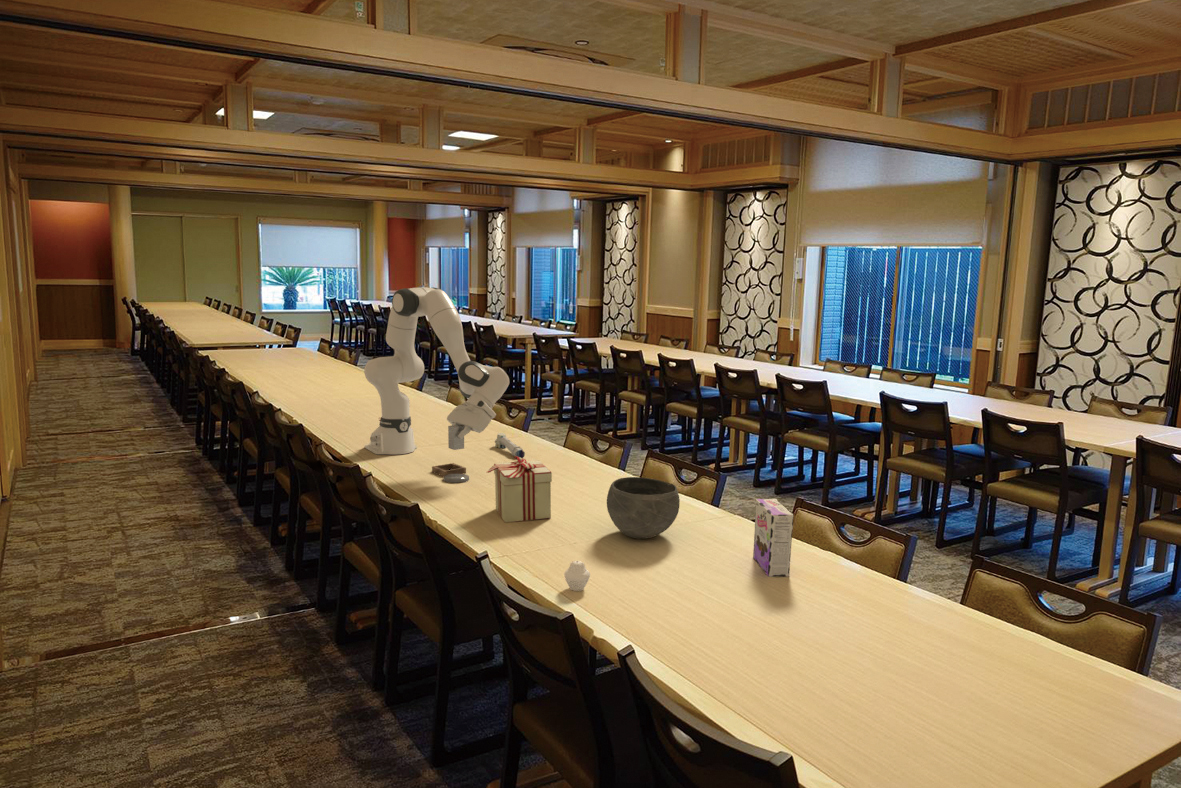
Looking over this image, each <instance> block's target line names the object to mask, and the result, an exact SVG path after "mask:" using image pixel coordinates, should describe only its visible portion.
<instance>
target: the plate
mask: <svg viewBox="0 0 1181 788" xmlns="http://www.w3.org/2000/svg"><path fill="white" fill-rule="evenodd" d="M445 481H446V482H445ZM466 481H467V482H469V481H470V475H468V474H466V473H464V474H449V475H446V476H443V482H445V483H448V482H451V483H450V484H460V483H459V482H462V483H466Z"/></svg>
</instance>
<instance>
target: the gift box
mask: <svg viewBox="0 0 1181 788" xmlns="http://www.w3.org/2000/svg"><path fill="white" fill-rule="evenodd" d="M513 459H514V460H515V459H516V460H517V461H511V462H510V461H509V462H501V463H500V462H499V463H494V464H493V465H492V466H491V467H490V468H489V469H488V470H487V471H486V473H487V474H488V473H491V472H493V474H494V477H495V478H494V479H495V480H494V482H495V483H494V484H495V485H494V487H495V511H497V513H498V515H499V516H500V517H501V519H502V520H503V523H514V522H526V521H534V520H535V521H536V520H537V521H538V520H544V519H546V520H547V519H551V517H552V515H551V514H552V509H551V508H552V507H551V506H552V505H551V503H552V502H551V499H552V498H551V496H552V495H551V491H552V490H551V489H552V488H551V486H552V485H551V484H552V483H551V482H552V481H553V480H552V479H553V478H552V476H553V475H552V474H553V473H552V471H551V470H550V469H549V468H548V467H547V466H546V465H545V464H544V463H542V461H540V460H539V459H538V460H527V459H526V458H520V457H517V456H513Z"/></svg>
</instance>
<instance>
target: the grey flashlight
mask: <svg viewBox="0 0 1181 788" xmlns="http://www.w3.org/2000/svg"><path fill="white" fill-rule="evenodd" d="M494 443H495V449H501V448H502V449H507V450H508V451H509V452H510V454H511V455H512V456H513V457H514V456H517V457H520V458H522V459H524V458H525V455H526V453H525V451H524V450H523V448H522V447H521V446H518V445H517V444H515V443H514V442H513V441H512V440H510V439H509V438H508V437H507V435H506V433H504V432H498V433H497V435H496V438H495V439H494ZM497 447H498V448H497Z"/></svg>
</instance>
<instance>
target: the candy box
mask: <svg viewBox="0 0 1181 788" xmlns="http://www.w3.org/2000/svg"><path fill="white" fill-rule="evenodd" d="M754 514H755V516H754V533H753V535H754V539H753V540H754V541H753V550H752V551H753V553H752V555H753V556H752V558H753V559H754V560H755V562H756V563H757V564H758V566H759V567H760V568H761V569H762V571H763V572H764V573H765V574H766V576H767V577H775V578H776V577H777V578H778V577H779V578H780V577H782V578H783V577H784V578H787V577H790V572H791V571H790V570H791V569H790V567H791V555H792V540H793V529H794V528H793V527H794V513H792V512H791V511H789V510H788V509H787V508H786V507H785V506H784V505H783V504H782V503H781V502H780V501H779V500H778V499H777V498H756V499H755V513H754Z"/></svg>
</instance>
